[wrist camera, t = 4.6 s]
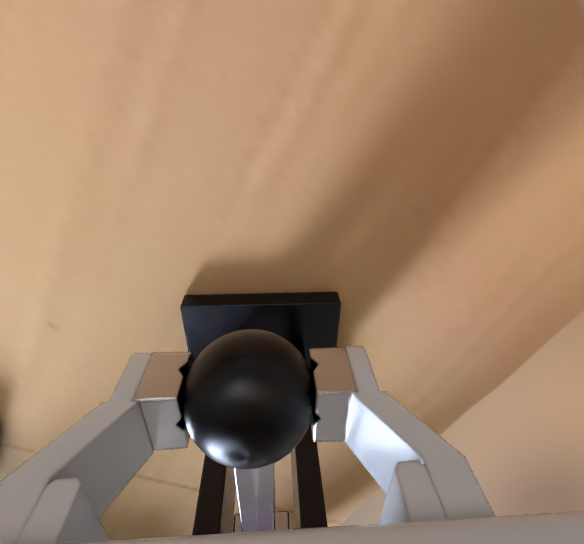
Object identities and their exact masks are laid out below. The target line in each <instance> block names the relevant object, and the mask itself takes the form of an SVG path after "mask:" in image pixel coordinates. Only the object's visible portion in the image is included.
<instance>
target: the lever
mask: <svg viewBox="0 0 584 544" xmlns="http://www.w3.org/2000/svg"><path fill="white" fill-rule="evenodd" d="M182 408H183V415H184V420H185V423H186V426H187V429H188V432H189V433H190V435H191V437H192V439H193V440H194V442H195V443H196V445H197V446H198V447H199V448H200V449H201V451H202V452H204V453H205V454H206V455H207V456H208V457H210V458H211V459H213V460H214V461H216V462H218V463H220V464H222V465H225V466H228V467H231V468H234V476H235V484H236V491H237V499H238V506H239V514H235V516H234V525H233V533H239V532H255V531H271V530H287V529H289V513H288V511H279V512H275V484H274V463H275V462H277V461H279V460H280V459H282V458H283V457H285V456H286V455H287V454H289V453H290V452H291V451H292V450H293V449H294V448H295V447H296V446H297V445H298V443H299V442H300V441H301V439H302V438H303V436H304V435H305V433H306V431H307V429H308V427H309V425H310V422H311V420H312V416H313V412H314V384H313V377H312V373H311V371H310V369H309V366H308V364H307V362H306V361H305V359H304V357H303V356H302V354H301V353H300V352H299V351H298V350H297V349H296V348H295V347H294V345H292V344H291V343H290V342H289V341H287V340H286V339H284V338H282V337H281V336H279V335H277V334H275V333H272V332H269V331H264V330H258V329H245V330H238V331H234V332H231V333H228V334H226V335H224V336H222V337H220V338H218V339H216V340H215V341H213V342H212V343H211V344H209V345H208V346H207V347H206V348H205V349H204V350H203V351H202V352H201V353H200V354H199V356H198V357H197V358H196V360H195V361H194V362H193V364H192V366H191V368H190V370H189V372H188V374H187V377H186V380H185V384H184V389H183V399H182Z"/></svg>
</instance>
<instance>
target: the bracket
mask: <svg viewBox="0 0 584 544" xmlns="http://www.w3.org/2000/svg"><path fill="white" fill-rule="evenodd" d="M180 308H181V313H182V319H183V324H184V330H185V335H186V341H187V346H188V352H192V353H193V356H194V361H195V360H196V358H197V357H198V356H199V354H200V353H201V352H202V351H203V350H204V349H205V348H206V347H207V346H208V345H209V344H211V343H212V342H213V341H215V340H216V339H218V338H220V337H222V336H224V335H226V334H228V333H231V332H234V331H238V330H245V329H258V330H264V331H269V332H272V333H275V334H277V335H279V336H281V337H282V338H284V339H286V340H287V341H289V342H290V343H291V344H292V345H294V347H295V348H296V349H297V350H298V351H299V352H300V353H301V354H302V356H303V357H304V359H305V361H306V362H307V364H308V350H309V348H325V347H337V337H338V328H339V318H340V308H341V302H340V298H339V295H338V292H306V293H260V294H215V295H185V296H184V298H183V301H182V304H181V307H180ZM308 366H309V365H308ZM291 463H292V480H293V497H294V513H295V529H303V528H319V527H328V526H327V519H326V511H325V503H324V495H323V488H322V480H321V472H320V465H319V457H318V449H317V442H313V436H312V428H311V422H310V425H309V427H308V429H307V431H306V433H305V435H304V436H303V438H302V439H301V441H300V442H299V443H298V445H297V446H296V447H295V448H294V449H293V450H292V451H291ZM235 491H236V484H235V476H234V468H231V467H228V466H225V465H222V464H220V463H218V462H216V461H214V460H213V459H211V458H210V457H208V456H207V455H206V454H205V459H204V465H203V471H202V477H201V483H200V490H199V496H198V502H197V508H196V514H195V521H194V527H193V533H192V535H208V534H224V533H232V530H233V517H234V504H235Z"/></svg>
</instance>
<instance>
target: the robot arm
mask: <svg viewBox="0 0 584 544" xmlns="http://www.w3.org/2000/svg"><path fill="white" fill-rule="evenodd" d="M193 362H194V356H193V353H192V352H154V353H134V354H133V355H132V356H131V357H130V359H129V361H128V363H127V365H126V367H125V369H124V371H123V373H122V375H121V377H120V380H119V382H118V384H117V386H116V388H115V390H114V392H113V394H112V396H111V398H110V400H109V402H107V403H102V404H100V405H99V406H98V407H96V408H95V409H94V410H92V411H91V412H90V413H88V414H87V415H86V416H85V417H83V418H82V419H81V420H79V421H78V422H77V423H75V424H74V425H73V426H72V427H70V428H69V429H68V430H66V431H65V432H64V433H62V434H61V435H60V436H59V437H57V438H56V439H55V440H53V441H52V442H51V443H49V444H48V445H47V446H46V447H44V448H43V449H42V450H40V451H39V452H38V453H36V454H35V455H34V456H33V457H31V458H30V459H29V460H27V461H26V462H25V463H23V464H22V465H21V466H19V467H18V468H17V469H16V470H14V471H13V472H12V473H10V474H9V475H8V476H6V477H5V478H4V479H3V480H2V481H1V482H0V544H584V511H574V512H558V513H542V514H526V515H512V516H511V515H510V516H495V514H494V512H493V510H492V508H491V506H490V505H489V503H488V500H487V499H486V497H485V495H484V493H483V491H482V489H481V487H480V485H479V483H478V481H477V479H476V477H475V475H474V473H473V471H472V469H471V467H470V465H469V463H468V461H467V459H466V457H465V456H464V455H463V454H461V453H460V452H459V451H458V450H457V449H455V448H454V447H453V446H451V445H450V444H449V443H448V442H447V441H446V440H444V439H443V438H442V437H441V436H439V435H438V434H437V433H436V432H435V431H433V430H432V429H431V428H430V427H428V426H427V425H426V424H425V423H424V422H422V421H421V420H420V419H419V418H417V417H416V416H415V415H414V414H413V413H411V412H410V411H409V410H408V409H406V408H405V407H404V406H403V405H402V404H400V403H399V402H398V401H397V400H395V399H394V398H393V397H392V396H391V395H389V394H388V393H387V392H380V390H379V387H378V384H377V381H376V379H375V376H374V373H373V370H372V367H371V365H370V362H369V359H368V356H367V353H366V351H365V348H364V347H363V346H345V347H325V348H309V350H308V365H309V369H310V371H311V373H312V377H313V384H314V412H313V416H312V420H311V428H312V436H313V442H329V441H346V442H345V443H346V444H347V445H348V447H349V448H350V449H351V450H352V452H353V453H354V454H355V455H356V457H357V458H358V459H359V461H360V462H361V463H362V464H363V466H364V467H365V468H366V469H367V471H368V472H369V473H370V474H371V476H372V477H373V478H374V479H375V481H376V482H377V483H378V484H379V486H380V487H381V488H382V489H383V491H384V492H385V493H386V494H387V497H386V500H385V504H384V507H383V511H382V514H381V518H380V521H379V524H368V525H351V526H335V527H319V528H303V529H287V530H271V531H255V532H239V533H224V534H208V535H192V536H177V537H161V538H145V539H129V540H113V541H110V540H109V538H108V536H107V534H106V532H105V530H104V528H103V526H102V524H101V522H100V520H99V517H100V516H101V515H102V513H103V512H104V511H105V510H106V509H107V507H108V506H109V505H110V504H111V503H112V502H113V500H114V499H115V498H116V497H117V496H118V494H119V493H120V492H121V491H122V490H123V488H124V487H125V486H126V485H127V484H128V482H129V481H130V480H131V479H132V478H133V476H134V475H135V474H136V473H137V472H138V470H139V469H140V468H141V467H142V466H143V464H144V463H145V462H146V461H147V460H148V458H149V457H150V456H151V455H152V454H153V450H165V449H179V448H188V443H189V439H190V433H189V432H188V429H187V426H186V423H185V420H184V415H183V408H182V399H183V389H184V384H185V380H186V377H187V374H188V372H189V370H190V368H191V366H192V364H193Z"/></svg>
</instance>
